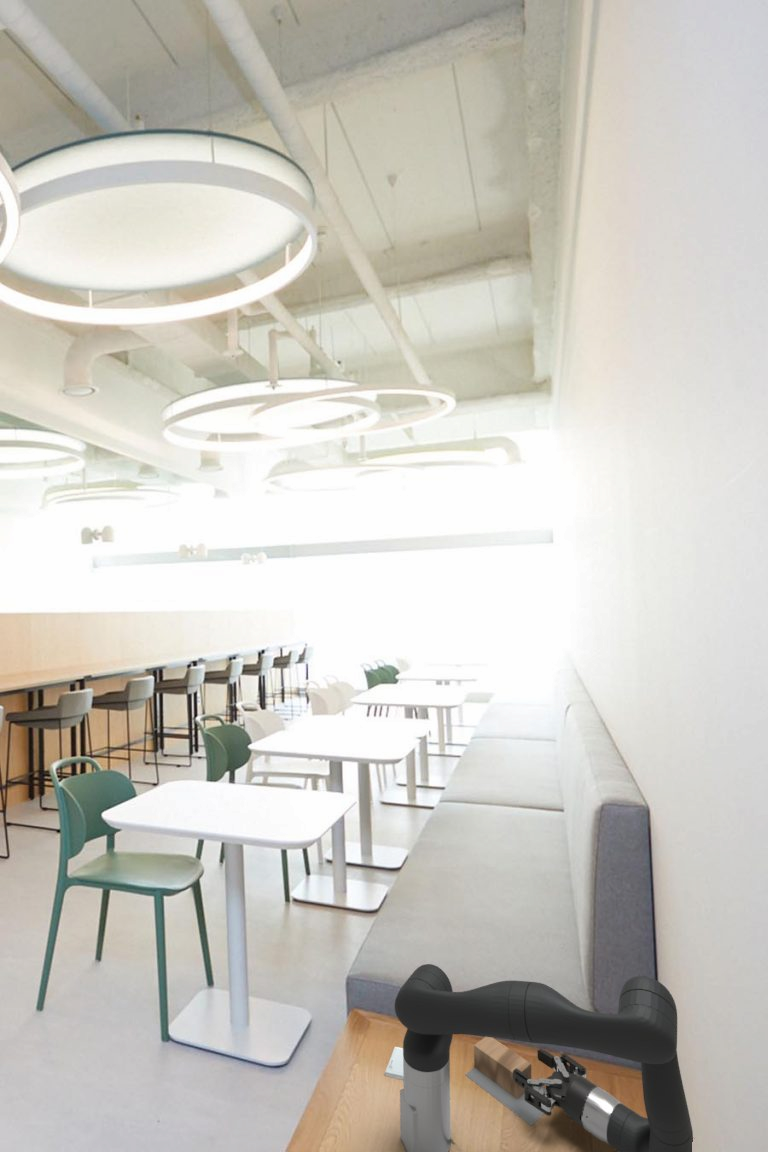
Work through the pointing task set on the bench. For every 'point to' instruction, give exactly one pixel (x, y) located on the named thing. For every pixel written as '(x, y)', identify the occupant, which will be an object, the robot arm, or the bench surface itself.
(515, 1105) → the rubber mat
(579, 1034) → the robot arm
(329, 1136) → the bench surface
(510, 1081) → the light brown wooden block
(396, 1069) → the hard drive
